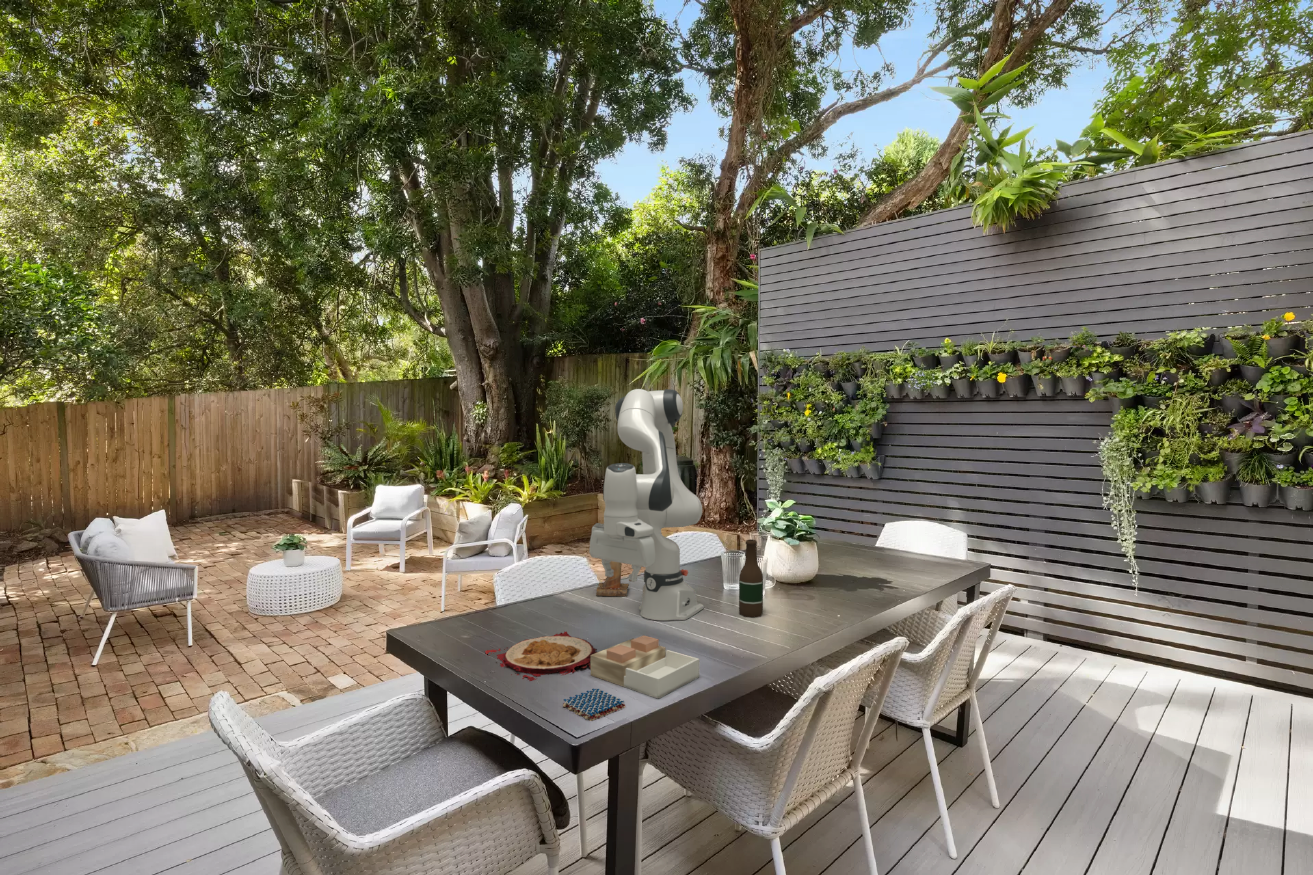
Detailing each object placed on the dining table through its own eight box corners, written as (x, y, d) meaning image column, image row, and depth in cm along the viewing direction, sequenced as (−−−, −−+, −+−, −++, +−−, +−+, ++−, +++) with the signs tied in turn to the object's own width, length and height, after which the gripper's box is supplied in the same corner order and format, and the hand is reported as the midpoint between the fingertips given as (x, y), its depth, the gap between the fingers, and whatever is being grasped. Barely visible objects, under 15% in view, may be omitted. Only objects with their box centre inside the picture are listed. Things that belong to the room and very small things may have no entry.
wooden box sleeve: (633, 656, 176) (633, 638, 176) (665, 666, 169) (665, 647, 169) (590, 675, 164) (590, 655, 164) (623, 686, 157) (623, 665, 157)
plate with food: (566, 638, 193) (566, 625, 193) (612, 664, 171) (612, 650, 171) (484, 656, 180) (484, 643, 180) (523, 688, 158) (522, 673, 158)
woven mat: (590, 724, 139) (590, 715, 139) (560, 708, 147) (560, 699, 147) (628, 709, 146) (628, 700, 146) (597, 694, 154) (597, 685, 154)
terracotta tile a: (643, 642, 173) (643, 635, 172) (658, 647, 169) (658, 639, 169) (630, 648, 169) (630, 640, 169) (646, 652, 166) (646, 644, 165)
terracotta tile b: (620, 652, 166) (620, 644, 165) (635, 657, 162) (635, 649, 162) (606, 658, 162) (606, 650, 162) (621, 663, 159) (621, 654, 158)
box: (665, 666, 169) (665, 649, 169) (699, 676, 163) (699, 658, 163) (623, 686, 157) (623, 667, 157) (658, 698, 150) (658, 679, 150)
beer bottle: (767, 613, 214) (768, 539, 213) (754, 619, 208) (754, 543, 207) (747, 609, 219) (747, 536, 218) (734, 614, 213) (734, 540, 212)
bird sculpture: (597, 588, 244) (596, 502, 243) (628, 588, 245) (628, 502, 244) (596, 597, 233) (595, 507, 232) (629, 596, 234) (629, 506, 233)
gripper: (584, 523, 177) (584, 575, 178) (642, 531, 164) (642, 587, 165) (600, 520, 182) (600, 570, 182) (658, 528, 169) (658, 582, 170)
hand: (621, 578), depth 173 cm, fingers open, 7 cm apart
